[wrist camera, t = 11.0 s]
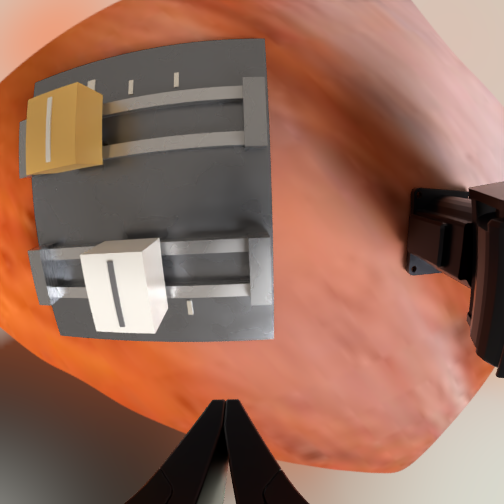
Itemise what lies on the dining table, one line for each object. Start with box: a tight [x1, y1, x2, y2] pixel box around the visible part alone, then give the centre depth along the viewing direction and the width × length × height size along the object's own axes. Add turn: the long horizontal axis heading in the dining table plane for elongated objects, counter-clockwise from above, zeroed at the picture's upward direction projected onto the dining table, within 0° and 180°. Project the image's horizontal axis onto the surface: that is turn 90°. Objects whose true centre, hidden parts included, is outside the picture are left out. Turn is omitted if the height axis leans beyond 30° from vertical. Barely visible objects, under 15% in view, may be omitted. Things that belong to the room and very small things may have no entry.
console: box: [19, 39, 274, 342], centre depth 17 cm, size 17×20×3 cm
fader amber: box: [26, 82, 103, 175], centre depth 14 cm, size 4×4×5 cm
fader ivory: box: [80, 238, 168, 334], centre depth 16 cm, size 4×4×5 cm
